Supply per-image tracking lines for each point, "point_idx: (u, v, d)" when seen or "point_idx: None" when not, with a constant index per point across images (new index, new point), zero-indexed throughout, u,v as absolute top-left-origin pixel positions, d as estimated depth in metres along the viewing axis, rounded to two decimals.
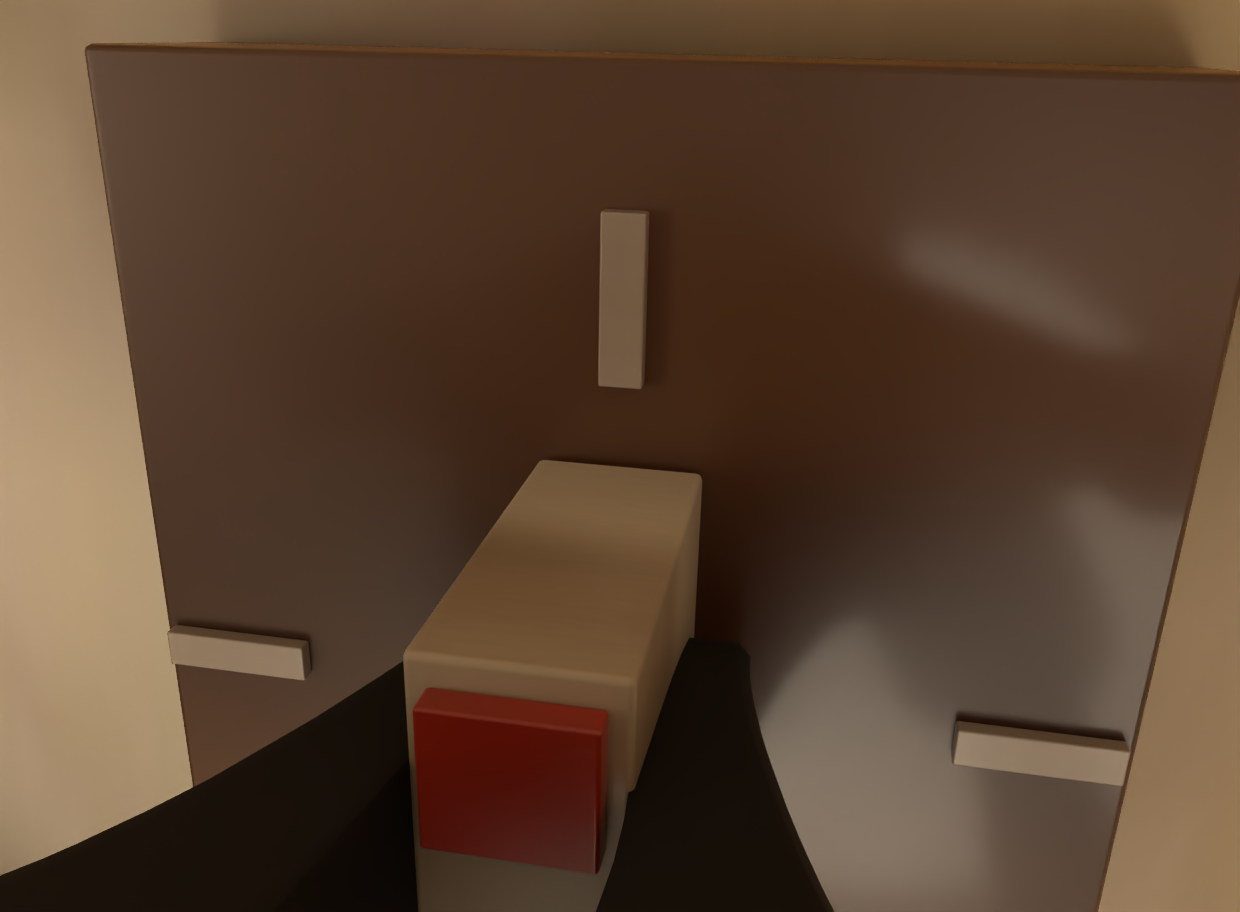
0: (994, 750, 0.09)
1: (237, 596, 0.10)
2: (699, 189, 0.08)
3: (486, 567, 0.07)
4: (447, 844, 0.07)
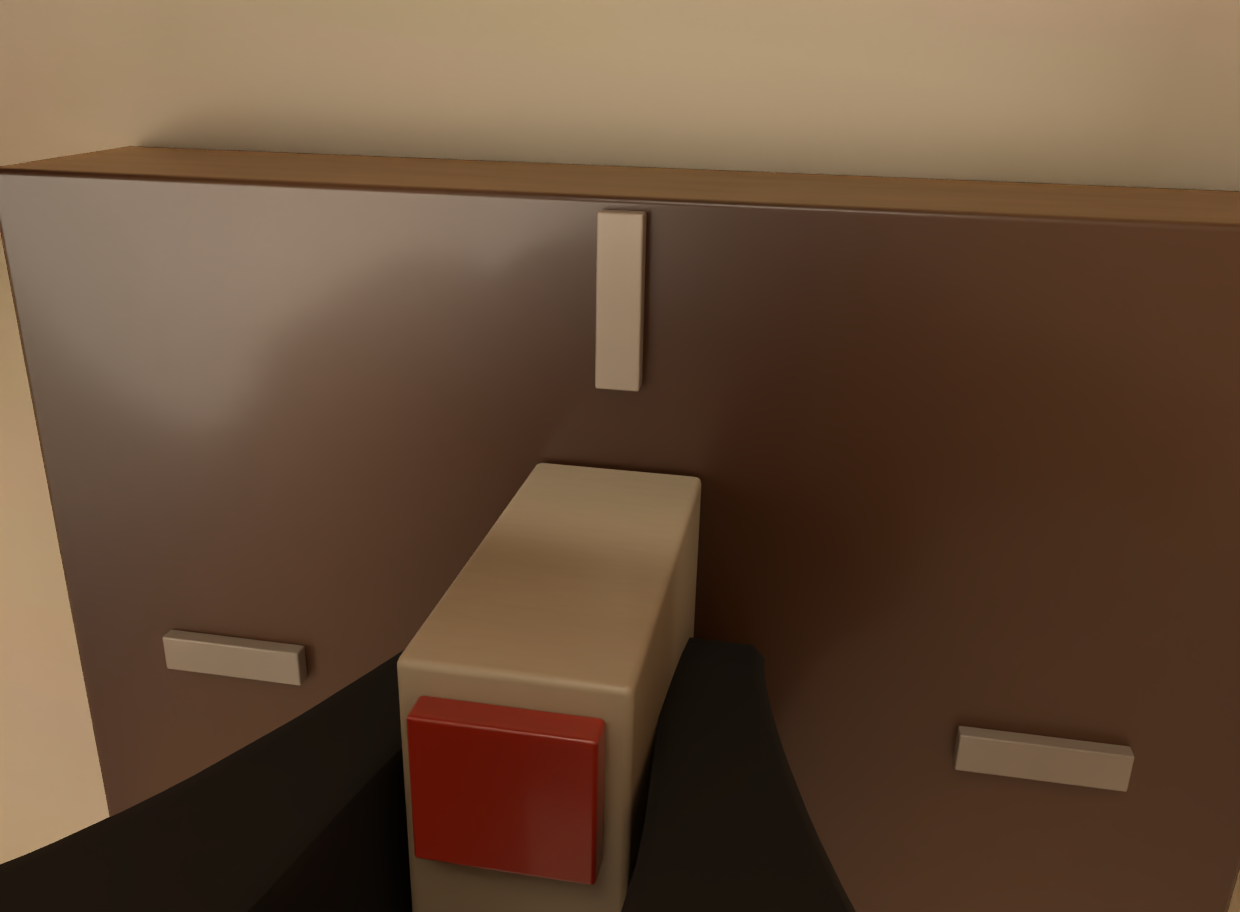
0: None
1: (694, 304, 0.09)
2: (1136, 819, 0.09)
3: (483, 573, 0.07)
4: (441, 854, 0.06)
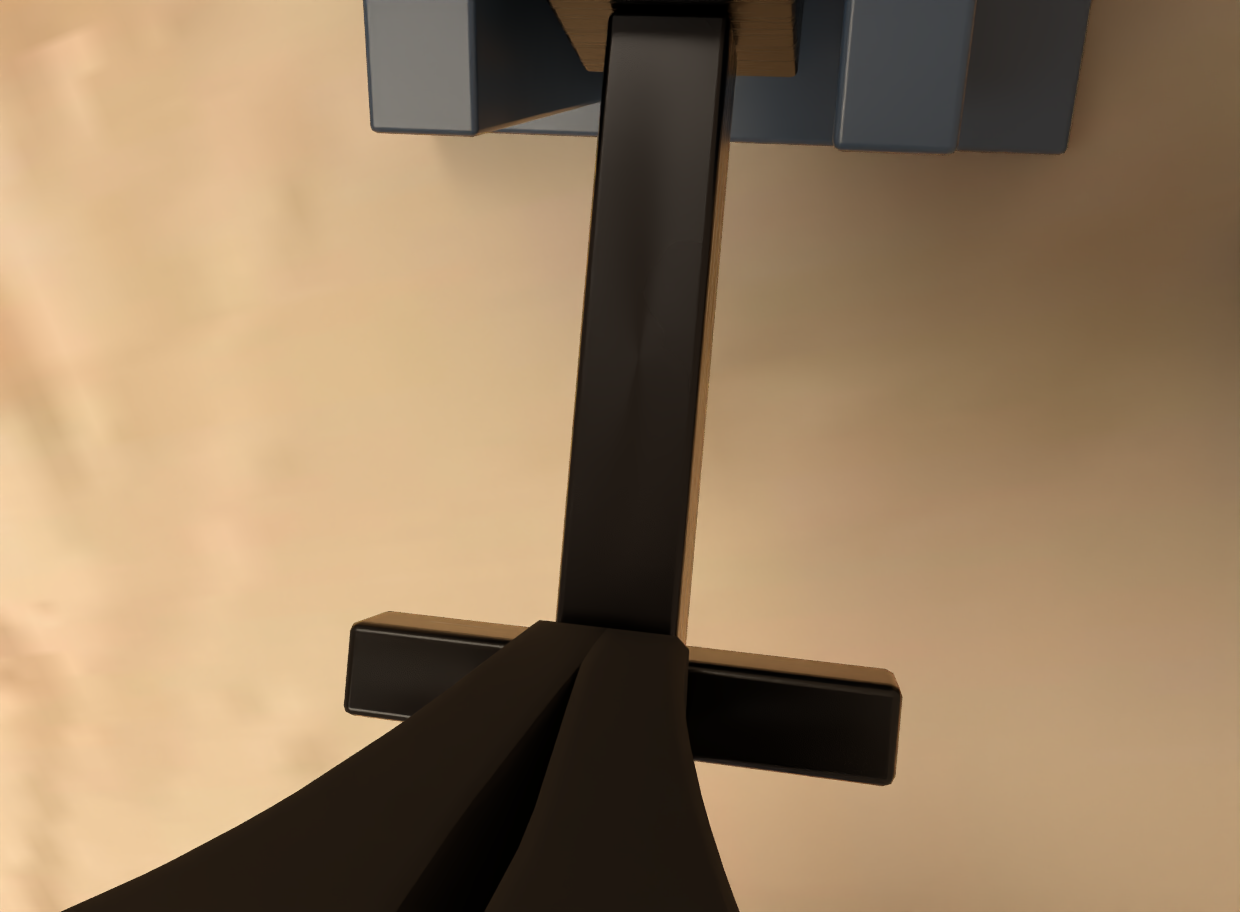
0: None
1: None
2: None
3: None
4: None
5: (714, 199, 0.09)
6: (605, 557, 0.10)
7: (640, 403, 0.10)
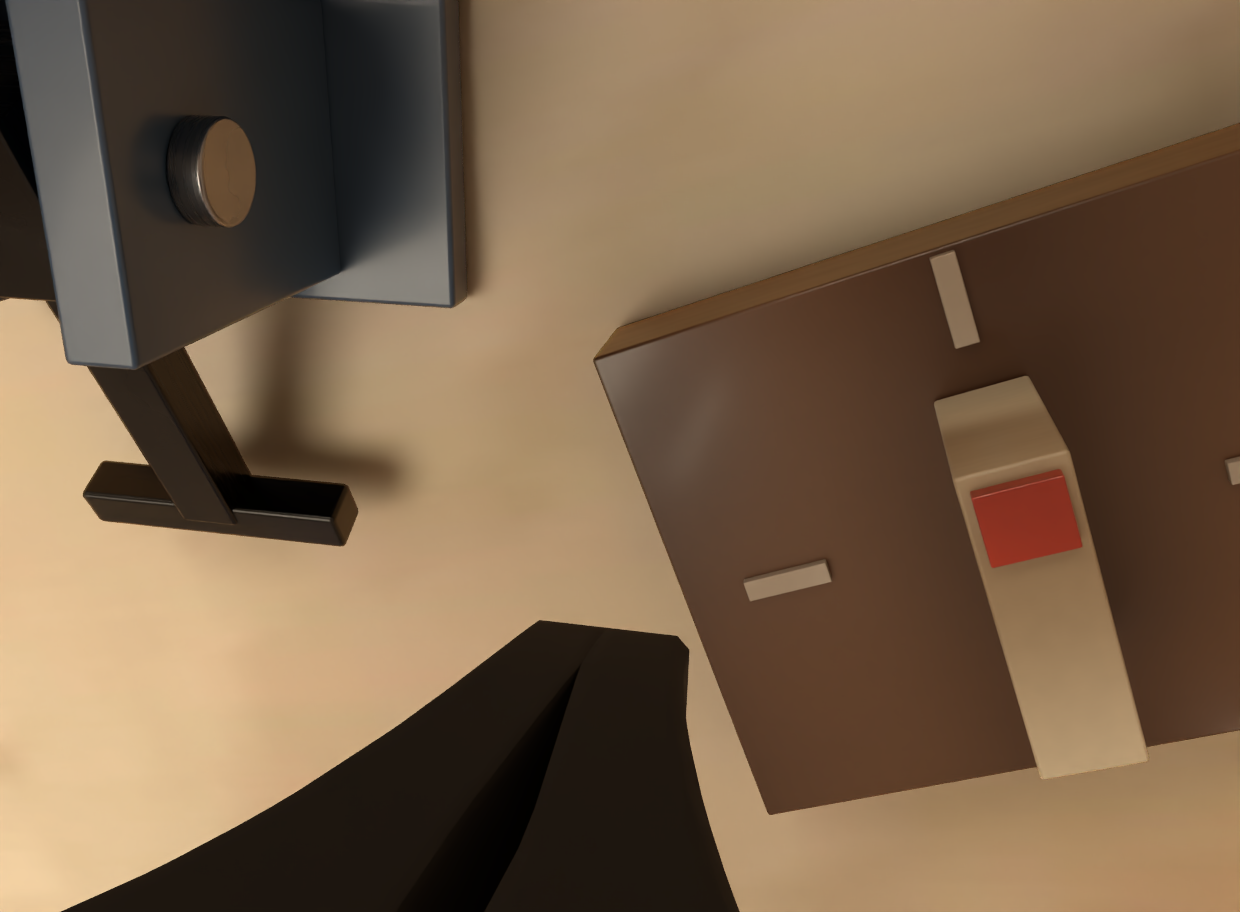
0: None
1: (994, 286, 0.16)
2: None
3: (957, 444, 0.15)
4: (1004, 561, 0.14)
5: None
6: (177, 479, 0.19)
7: (155, 429, 0.18)
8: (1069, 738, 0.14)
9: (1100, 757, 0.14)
